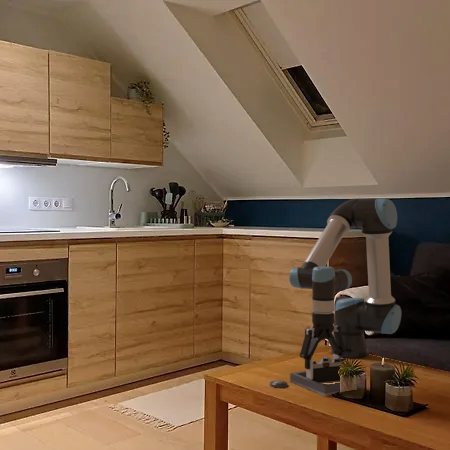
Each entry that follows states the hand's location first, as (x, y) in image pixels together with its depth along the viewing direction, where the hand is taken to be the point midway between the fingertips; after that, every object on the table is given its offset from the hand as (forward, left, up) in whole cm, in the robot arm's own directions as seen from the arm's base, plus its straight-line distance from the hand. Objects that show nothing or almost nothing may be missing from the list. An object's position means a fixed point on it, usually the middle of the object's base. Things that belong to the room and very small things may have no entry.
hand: (322, 376), depth 209 cm
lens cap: (+13, -8, -4) cm, 16 cm away
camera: (-2, +2, -1) cm, 3 cm away
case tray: (0, 0, -3) cm, 3 cm away
